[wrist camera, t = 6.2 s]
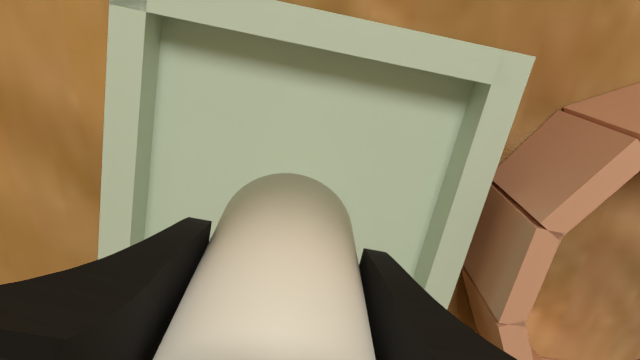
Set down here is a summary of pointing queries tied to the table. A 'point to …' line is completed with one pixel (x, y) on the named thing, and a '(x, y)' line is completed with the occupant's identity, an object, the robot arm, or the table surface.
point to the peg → (275, 281)
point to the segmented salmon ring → (545, 208)
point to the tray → (303, 123)
